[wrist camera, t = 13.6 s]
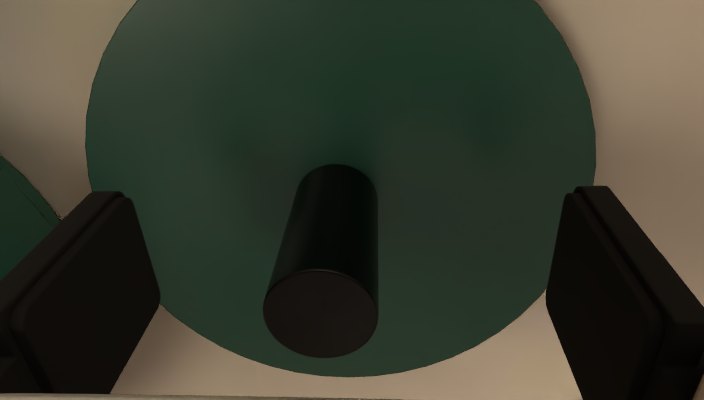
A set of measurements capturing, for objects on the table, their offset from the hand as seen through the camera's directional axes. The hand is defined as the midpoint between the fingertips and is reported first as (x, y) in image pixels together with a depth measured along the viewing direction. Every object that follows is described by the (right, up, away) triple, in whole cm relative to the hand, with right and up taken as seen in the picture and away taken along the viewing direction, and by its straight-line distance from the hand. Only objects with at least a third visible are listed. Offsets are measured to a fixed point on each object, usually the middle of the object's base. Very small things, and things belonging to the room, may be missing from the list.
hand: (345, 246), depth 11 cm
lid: (0, +1, +4) cm, 4 cm away
